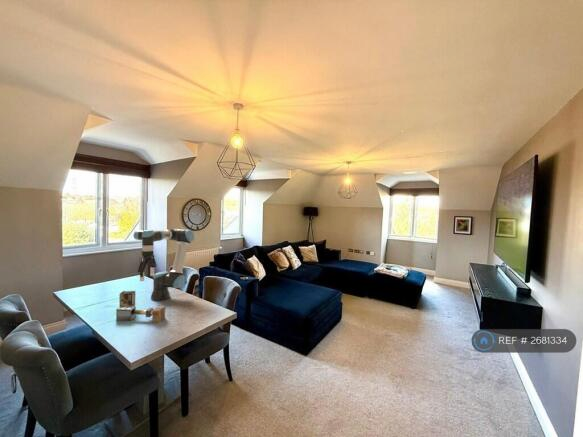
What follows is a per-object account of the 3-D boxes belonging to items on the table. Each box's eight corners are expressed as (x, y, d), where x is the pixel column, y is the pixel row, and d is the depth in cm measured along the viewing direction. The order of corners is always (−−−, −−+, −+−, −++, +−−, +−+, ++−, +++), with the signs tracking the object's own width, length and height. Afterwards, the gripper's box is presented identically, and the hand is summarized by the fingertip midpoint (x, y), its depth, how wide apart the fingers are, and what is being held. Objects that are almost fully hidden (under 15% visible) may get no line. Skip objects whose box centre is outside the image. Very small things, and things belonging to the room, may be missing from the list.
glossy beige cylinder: (137, 313, 180) (137, 307, 180) (160, 314, 180) (160, 308, 180) (133, 316, 175) (133, 310, 175) (156, 317, 176) (156, 310, 175)
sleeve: (121, 317, 180) (122, 305, 180) (135, 317, 181) (135, 306, 180) (116, 320, 174) (116, 309, 174) (130, 321, 175) (130, 309, 174)
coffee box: (135, 310, 192) (136, 290, 192) (132, 314, 186) (132, 293, 185) (122, 310, 191) (123, 290, 190) (118, 314, 184) (119, 293, 184)
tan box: (158, 317, 182) (158, 305, 182) (164, 317, 182) (165, 306, 182) (152, 322, 174) (152, 310, 174) (159, 322, 174) (159, 310, 174)
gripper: (151, 247, 195) (151, 273, 196) (132, 253, 170) (131, 283, 171) (161, 247, 195) (160, 273, 196) (143, 253, 170) (142, 283, 171)
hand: (147, 278), depth 184 cm, fingers open, 13 cm apart
